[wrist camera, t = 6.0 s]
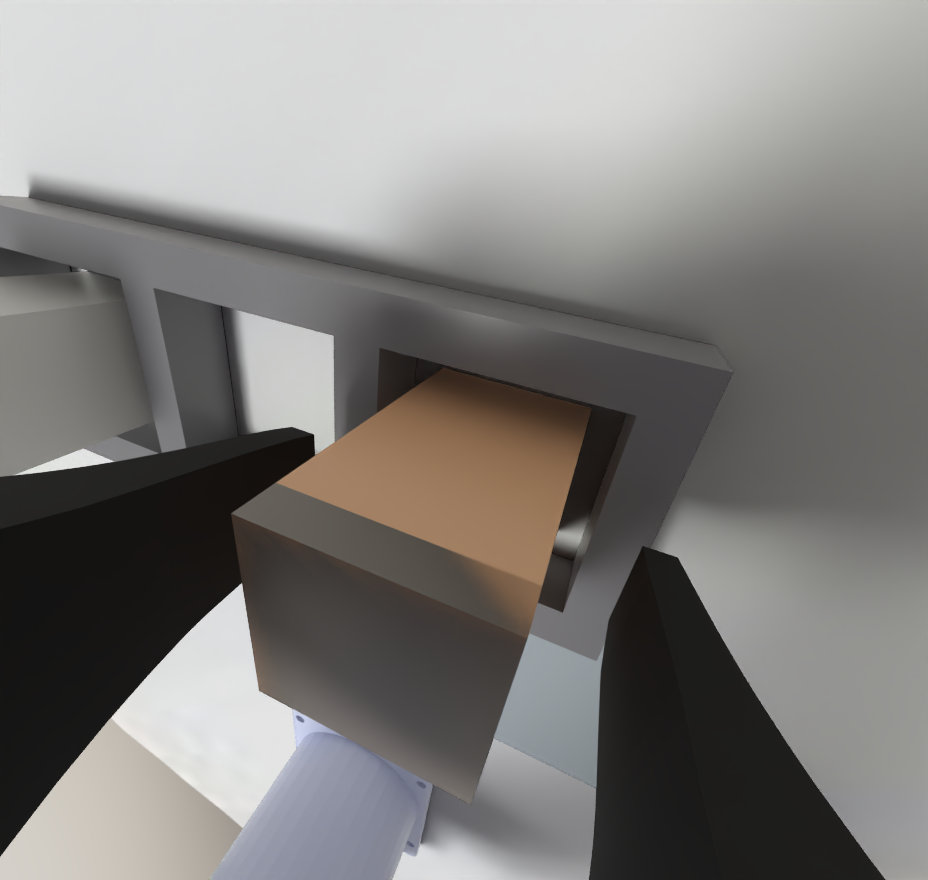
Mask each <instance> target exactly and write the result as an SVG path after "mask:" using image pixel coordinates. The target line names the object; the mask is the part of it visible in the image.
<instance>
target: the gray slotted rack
mask: <svg viewBox="0 0 928 880" xmlns="http://www.w3.org/2000/svg"><path fill="white" fill-rule="evenodd" d="M69 265H70V266H73V267H77V268H81V269H85V270H89V271H92V272H96V273H100V274H104V275H107V276H111V277H115V278H119V279H120V280H121V285H122V289H123V293H124V297H125V301H126V305H127V309H128V314H129V318H130V322H131V326H132V330H133V334H134V339H135V343H136V347H137V351H138V355H139V359H140V364H141V368H142V372H143V376H144V380H145V384H146V388H147V393H148V397H149V401H150V405H151V409H152V413H153V418H154V421H153V422H151V423H148V424H145V425H143V426H140V427H138V428H135V429H132V430H130V431H127V432H124V433H122V434H119V435H117V436H114V437H111V438H109V439H106V440H104V441H101V442H98V443H96V444H93V445H91V446H88V447H85V448H84V449H86V450H89V451H91V452H93V453H96V454H98V455H101V456H103V457H106V458H108V459H110V460H113V461H115V462H117V461H122V460H127V459H132V458H138V457H143V456H148V455H153V454H158V453H163V452H169V451H174V450H179V449H184V448H188V447H193V446H197V445H202V444H207V443H211V442H216V441H220V440H225V439H230V438H234V437H238V430H237V423H236V415H235V408H234V401H233V393H232V386H231V379H230V371H229V364H228V356H227V349H226V342H225V334H224V327H223V319H222V312H221V306H224V307H228V308H232V309H235V310H239V311H243V312H247V313H251V314H254V315H258V316H262V317H266V318H269V319H273V320H277V321H281V322H284V323H288V324H292V325H296V326H300V327H303V328H307V329H311V330H315V331H318V332H322V333H326V334H330V335H333V336H334V415H335V442H336V441H337V440H339V439H340V438H342V437H343V436H345V435H346V434H347V433H349V432H350V431H352V430H353V429H355V428H356V427H358V426H359V425H361V424H362V423H364V422H365V421H366V420H368V419H369V418H371V417H372V416H374V415H375V414H377V413H378V412H380V411H381V410H382V409H384V408H385V407H387V406H388V405H390V404H391V403H393V402H394V401H396V400H397V399H398V398H400V397H401V396H403V395H404V394H406V393H407V392H409V391H410V390H412V389H413V388H414V381H415V370H416V358H420V359H424V360H428V361H431V362H435V363H439V364H443V365H446V366H450V367H454V368H458V369H462V370H465V371H469V372H473V373H477V374H480V375H484V376H488V377H492V378H495V379H499V380H503V381H507V382H510V383H514V384H518V385H522V386H526V387H529V388H533V389H537V390H541V391H544V392H548V393H552V394H556V395H559V396H563V397H567V398H571V399H575V400H578V401H582V402H586V403H590V404H593V405H597V406H601V407H605V408H608V409H612V410H616V411H620V412H624V413H627V415H626V418H625V421H624V424H623V426H622V429H621V432H620V435H619V437H618V440H617V443H616V446H615V448H614V451H613V454H612V457H611V459H610V462H609V465H608V468H607V470H606V473H605V476H604V479H603V481H602V484H601V487H600V490H599V492H598V495H597V498H596V501H595V503H594V506H593V509H592V512H591V515H590V517H589V520H588V523H587V526H586V528H585V531H584V534H583V537H582V539H581V542H580V545H579V548H578V550H577V553H576V556H575V559H574V561H571V560H568V559H565V558H563V557H560V556H557V555H554V554H552V553H551V556H550V560H549V564H548V567H547V571H546V574H545V578H544V582H543V585H542V589H541V592H540V596H539V600H538V603H537V607H536V610H535V614H534V617H533V621H532V625H531V628H530V632H529V634H532V635H534V636H537V637H539V638H541V639H544V640H546V641H549V642H551V643H554V644H556V645H558V646H561V647H563V648H566V649H568V650H570V651H573V652H575V653H578V654H580V655H582V656H585V657H587V658H590V659H592V660H594V661H597V659H598V657H599V655H600V653H601V651H602V649H603V647H604V645H605V639H606V633H607V627H608V621H609V618H610V616H611V614H612V611H613V609H614V607H615V605H616V603H617V601H618V598H619V596H620V594H621V592H622V590H623V587H624V585H625V583H626V581H627V579H628V577H629V574H630V572H631V570H632V568H633V566H634V564H635V561H636V559H637V557H638V555H639V553H640V550H641V548H642V546H645V547H648V548H650V547H651V545H652V543H653V541H654V539H655V537H656V535H657V532H658V530H659V528H660V526H661V524H662V522H663V520H664V518H665V516H666V513H667V511H668V509H669V507H670V505H671V503H672V501H673V499H674V496H675V494H676V492H677V490H678V488H679V486H680V484H681V482H682V480H683V477H684V475H685V473H686V471H687V469H688V467H689V465H690V463H691V461H692V458H693V456H694V454H695V452H696V450H697V448H698V446H699V444H700V441H701V439H702V437H703V435H704V433H705V431H706V429H707V427H708V425H709V422H710V420H711V418H712V416H713V414H714V412H715V410H716V408H717V406H718V403H719V401H720V399H721V397H722V395H723V393H724V391H725V389H726V386H727V384H728V382H729V380H730V378H731V376H732V374H733V371H732V370H731V368H730V367H729V365H728V364H727V362H726V361H725V359H724V357H723V356H722V354H721V353H720V351H719V350H718V348H717V347H716V346H714V345H709V344H705V343H700V342H696V341H691V340H686V339H682V338H677V337H672V336H668V335H663V334H658V333H654V332H649V331H645V330H640V329H635V328H631V327H626V326H621V325H617V324H612V323H607V322H603V321H598V320H593V319H589V318H584V317H580V316H575V315H570V314H566V313H561V312H556V311H552V310H547V309H542V308H538V307H533V306H529V305H524V304H519V303H515V302H510V301H505V300H501V299H496V298H491V297H487V296H482V295H478V294H473V293H468V292H464V291H459V290H454V289H450V288H445V287H440V286H436V285H431V284H427V283H422V282H417V281H413V280H408V279H403V278H399V277H394V276H389V275H385V274H380V273H375V272H371V271H366V270H362V269H357V268H352V267H348V266H343V265H338V264H334V263H329V262H324V261H320V260H315V259H311V258H306V257H301V256H297V255H292V254H287V253H283V252H278V251H273V250H269V249H264V248H260V247H255V246H250V245H246V244H241V243H236V242H232V241H227V240H222V239H218V238H213V237H209V236H204V235H199V234H195V233H190V232H185V231H181V230H176V229H171V228H167V227H162V226H157V225H153V224H148V223H144V222H139V221H134V220H130V219H125V218H120V217H116V216H111V215H106V214H102V213H97V212H93V211H88V210H83V209H79V208H74V207H69V206H65V205H60V204H55V203H51V202H46V201H42V200H37V199H32V198H28V197H14V196H0V277H8V276H23V275H38V274H53V273H69V272H71V270H70V267H69Z"/></svg>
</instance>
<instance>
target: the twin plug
mask: <svg viewBox="0 0 928 880" xmlns="http://www.w3.org/2000/svg"><path fill="white" fill-rule="evenodd" d="M153 421H154V418H153V413H152V409H151V405H150V401H149V397H148V393H147V388H146V384H145V380H144V376H143V372H142V368H141V364H140V359H139V355H138V351H137V347H136V343H135V339H134V334H133V330H132V326H131V322H130V318H129V314H128V309H127V305H126V301H125V297H124V293H123V289H122V285H121V280H118V279H115V278H111V277H107V276H103V275H99V274H96V273H92V272H88V271H84V272H69V273H53V274H38V275H23V276H8V277H0V477H3V476H12V475H15V474H17V473H20V472H23V471H25V470H28V469H30V468H33V467H36V466H38V465H41V464H44V463H46V462H49V461H51V460H54V459H57V458H59V457H62V456H64V455H67V454H70V453H72V452H75V451H77V450H80V449H83V448H85V447H88V446H91V445H93V444H96V443H98V442H101V441H104V440H106V439H109V438H111V437H114V436H117V435H119V434H122V433H124V432H127V431H130V430H132V429H135V428H138V427H140V426H143V425H145V424H148V423H151V422H153Z"/></svg>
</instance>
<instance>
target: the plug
mask: <svg viewBox="0 0 928 880" xmlns="http://www.w3.org/2000/svg"><path fill="white" fill-rule="evenodd" d="M591 409H592V408H588V407H585V406H581V405H577V404H574V403H570V402H567V401H563V400H559V399H556V398H552V397H548V396H545V395H541V394H537V393H534V392H530V391H526V390H523V389H519V388H515V387H512V386H508V385H504V384H501V383H497V382H493V381H490V380H486V379H482V378H479V377H475V376H471V375H468V374H464V373H460V372H457V371H453V370H450V369H446V368H442V369H441V370H439V371H438V372H436V373H435V374H433V375H432V376H430V377H429V378H428V379H426V380H425V381H423V382H422V383H420V384H419V385H417V386H416V387H414V388H413V389H412V390H410V391H409V392H407V393H406V394H404V395H403V396H401V397H400V398H398V399H397V400H396V401H394V402H393V403H391V404H390V405H388V406H387V407H385V408H384V409H382V410H381V411H380V412H378V413H377V414H375V415H374V416H372V417H371V418H369V419H368V420H366V421H365V422H364V423H362V424H361V425H359V426H358V427H356V428H355V429H353V430H352V431H350V432H349V433H347V434H346V435H345V436H343V437H342V438H340V439H339V440H337V441H336V442H334V443H333V444H331V445H330V446H329V447H327V448H326V449H324V450H323V451H321V452H320V453H318V454H317V455H315V456H314V457H313V458H311V459H310V460H308V461H307V462H305V463H304V464H302V465H301V466H299V467H298V468H297V469H295V470H294V471H292V472H291V473H289V474H288V475H286V476H285V477H283V478H282V479H281V480H279V481H278V482H276V483H275V484H273V485H272V486H270V487H269V488H267V489H266V490H265V491H263V492H262V493H260V494H259V495H257V496H256V497H254V498H253V499H251V500H250V501H248V502H247V503H246V504H244V505H243V506H241V507H240V508H238V509H237V510H235V511H234V512H232V513H231V516H232V522H233V529H234V535H235V541H236V548H237V554H238V560H239V566H240V573H241V579H242V585H243V592H244V598H245V604H246V611H247V617H248V623H249V630H250V636H251V642H252V648H253V655H254V661H255V667H256V674H257V680H258V686H259V691H261V692H263V693H264V694H266V695H268V696H270V697H272V698H274V699H275V700H277V701H279V702H281V703H283V704H285V705H287V706H288V707H290V708H292V709H294V710H296V711H298V712H300V713H301V714H303V715H305V716H307V717H309V718H311V719H312V720H314V721H316V722H318V723H320V724H322V725H324V726H325V727H327V728H329V729H331V730H333V731H335V732H337V733H338V734H340V735H342V736H344V737H346V738H348V739H349V740H351V741H353V742H355V743H357V744H359V745H361V746H362V747H364V748H366V749H368V750H370V751H372V752H374V753H375V754H377V755H379V756H381V757H383V758H385V759H386V760H388V761H390V762H392V763H394V764H396V765H398V766H399V767H401V768H403V769H405V770H407V771H409V772H411V773H412V774H414V775H416V776H418V777H420V778H422V779H423V780H425V781H427V782H429V783H431V784H433V785H435V786H436V787H438V788H440V789H442V790H444V791H446V792H448V793H449V794H451V795H453V796H455V797H457V798H459V799H460V800H462V801H464V802H466V803H468V804H470V805H471V803H472V800H473V797H474V794H475V791H476V788H477V785H478V782H479V779H480V776H481V774H482V771H483V768H484V765H485V762H486V759H487V756H488V753H489V750H490V747H491V744H492V741H493V738H494V735H495V733H496V730H497V727H498V724H499V721H500V718H501V715H502V712H503V709H504V706H505V703H506V700H507V697H508V695H509V692H510V689H511V686H512V683H513V680H514V677H515V674H516V671H517V668H518V665H519V662H520V659H521V656H522V654H523V651H524V648H525V645H526V642H527V639H528V635H529V632H530V628H531V625H532V621H533V617H534V614H535V610H536V607H537V603H538V600H539V596H540V592H541V589H542V585H543V582H544V578H545V574H546V571H547V567H548V564H549V560H550V556H551V553H552V549H553V546H554V542H555V539H556V535H557V531H558V528H559V524H560V521H561V517H562V513H563V510H564V506H565V503H566V499H567V496H568V492H569V488H570V485H571V481H572V478H573V474H574V470H575V467H576V463H577V460H578V456H579V452H580V449H581V445H582V442H583V438H584V435H585V431H586V427H587V424H588V420H589V417H590V413H591Z"/></svg>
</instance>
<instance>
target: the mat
mask: <svg viewBox="0 0 928 880" xmlns="http://www.w3.org/2000/svg"><path fill="white" fill-rule="evenodd" d="M603 652H604V647H603V649H602V651H601V653H600V655H599V657H598V659H597V661H594V660H592V659H590V658H587V657H585V656H582V655H580V654H578V653H575V652H573V651H570V650H568V649H566V648H563V647H561V646H558V645H556V644H554V643H551V642H549V641H546V640H544V639H541V638H539V637H537V636H534V635H532V634H529V635H528V639H527V642H526V645H525V648H524V651H523V654H522V656H521V659H520V662H519V665H518V668H517V671H516V674H515V677H514V680H513V683H512V686H511V689H510V692H509V695H508V697H507V700H506V703H505V706H504V709H503V712H502V715H501V718H500V721H499V724H498V727H497V730H496V733H495V735H494V739H496V740H498V741H500V742H503V743H505V744H507V745H509V746H511V747H513V748H515V749H517V750H519V751H521V752H523V753H525V754H527V755H529V756H531V757H533V758H535V759H537V760H539V761H541V762H543V763H545V764H547V765H549V766H552V767H554V768H556V769H558V770H560V771H562V772H564V773H566V774H568V775H570V776H572V777H574V778H576V779H578V780H580V781H582V782H584V783H586V784H588V785H590V786H592V787H594V788H596V782H597V753H598V723H599V697H600V674H601V665H602V658H603Z"/></svg>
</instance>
